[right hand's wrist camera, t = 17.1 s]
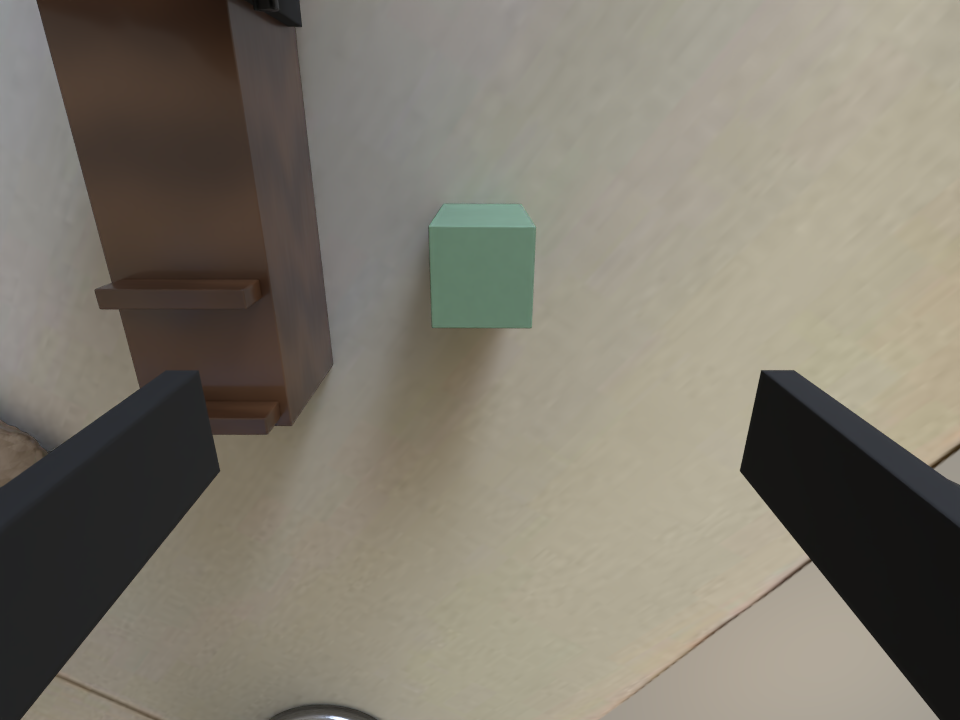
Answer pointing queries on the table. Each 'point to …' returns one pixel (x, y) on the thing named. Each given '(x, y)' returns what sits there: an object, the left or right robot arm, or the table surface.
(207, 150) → the slotted wooden block
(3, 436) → the stone
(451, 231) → the block
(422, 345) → the table surface
